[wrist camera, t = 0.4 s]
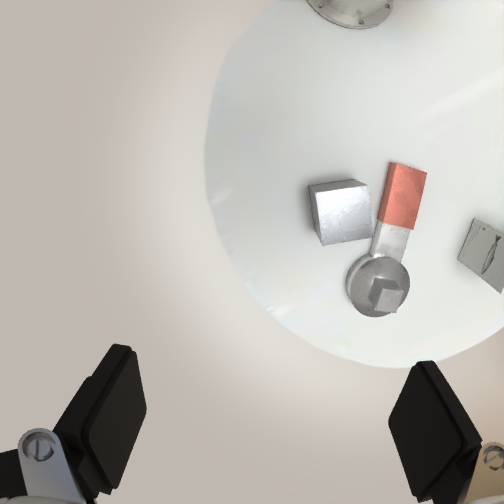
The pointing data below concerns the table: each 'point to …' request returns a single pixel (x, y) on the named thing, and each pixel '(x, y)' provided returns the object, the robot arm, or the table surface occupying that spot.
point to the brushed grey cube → (341, 211)
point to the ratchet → (388, 246)
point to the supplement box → (485, 254)
